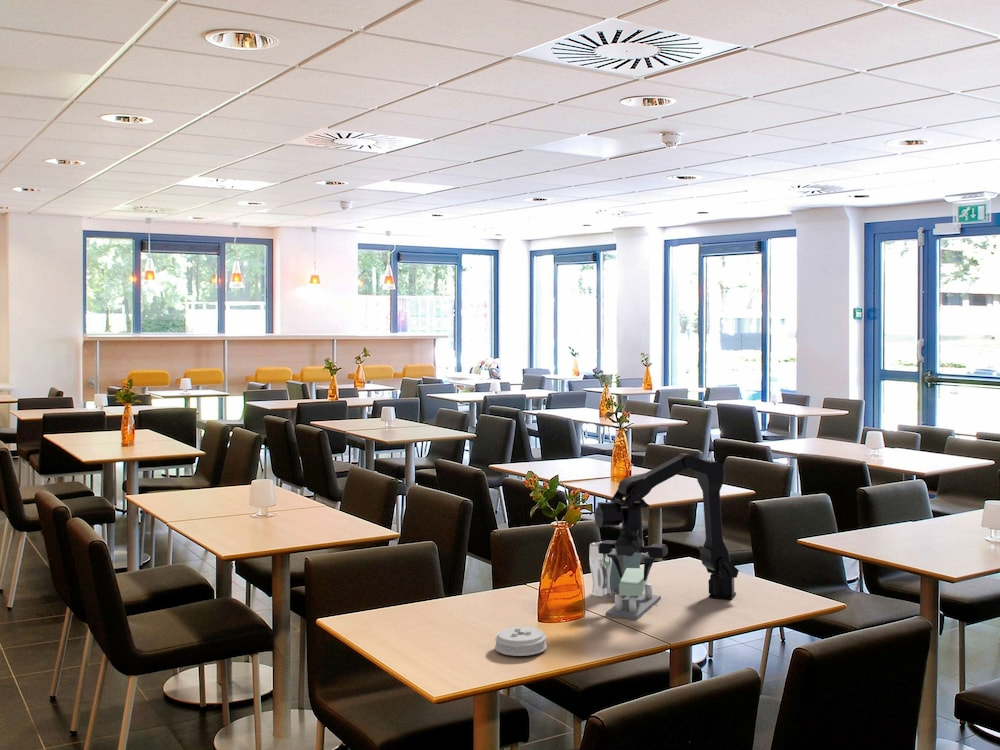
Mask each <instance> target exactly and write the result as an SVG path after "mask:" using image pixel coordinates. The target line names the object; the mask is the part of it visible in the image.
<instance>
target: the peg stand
mask: <svg viewBox="0 0 1000 750" xmlns="http://www.w3.org/2000/svg"><path fill="white" fill-rule="evenodd" d="M660 599H662V596H661V595H655V594H653V584H652V583H648V582H646V585H645V588H644V593H642V596H629V595H625V597H624V598H623V595H619V594H615V595H614V605H613V606H612V607H610V608H609V609H608V610H607V611H606V612H605V617H608V618H609V617H610V618H611V617H613V618H620V619H626V620H627V619H628V620H637V621H638V620H639V619H641V617H642V616H643V615H645V614H646V613H647V612H649V611H650V609H652V608H653V607H654V606H655V605H656V604H658V603H659V602H660V601H661V600H660ZM659 600H660V601H659ZM653 605H654V606H653ZM652 606H653V607H652ZM644 613H645V614H644Z"/></svg>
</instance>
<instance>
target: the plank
mask: <svg viewBox="0 0 1000 750" xmlns="http://www.w3.org/2000/svg"><path fill="white" fill-rule="evenodd" d="M648 577H649V576H648ZM648 577H647V580H646V581H644V567H643V568H641V567H640V568H626V570H625V572H624V574H623V577H622V579H621V581H620V583H619V593H618V595H622V596H628V595H629V596H642V594H644V591H645V585H646V584H647V583H648Z"/></svg>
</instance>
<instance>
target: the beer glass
mask: <svg viewBox="0 0 1000 750" xmlns="http://www.w3.org/2000/svg"><path fill="white" fill-rule="evenodd" d="M601 542H602V541H597V542H591V543H590V544H589V553H588V554H589V557H588V558H589V568H590V573H591V578H592V590H591V596H593V597H596V598H608V597H612V596H613V590H612V589H611V575H612V568H613V560H612V559H611V558H610V557H607V554H601V553H598V546H599V544H600V543H601Z"/></svg>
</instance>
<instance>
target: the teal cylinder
mask: <svg viewBox="0 0 1000 750" xmlns="http://www.w3.org/2000/svg"><path fill="white" fill-rule="evenodd" d="M641 558H642V553H637V552H634V554H633V555H632V556H626V555H623V563H624V572H625V570H626V568H641V567H640V566H641ZM620 581H621V578H620V575H619V572H618V570H617V567H616V565H615V563H614V561H613V568H612V575H611V589H612V591H613V590H614V592H617V591H619V583H620Z"/></svg>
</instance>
